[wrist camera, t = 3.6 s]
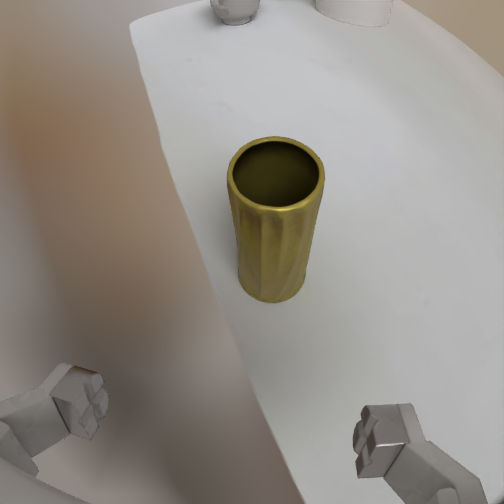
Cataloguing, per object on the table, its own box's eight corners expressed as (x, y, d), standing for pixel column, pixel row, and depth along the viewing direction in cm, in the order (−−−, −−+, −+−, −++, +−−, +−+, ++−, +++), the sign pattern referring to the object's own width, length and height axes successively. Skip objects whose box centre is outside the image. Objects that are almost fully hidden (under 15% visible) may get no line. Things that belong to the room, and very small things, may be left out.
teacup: (189, 35, 50) (181, -8, 41) (222, 9, 56) (218, -28, 47) (248, 40, 48) (245, -8, 39) (274, 13, 54) (274, -26, 45)
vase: (231, 296, 29) (204, 208, 16) (246, 236, 31) (233, 124, 18) (299, 309, 28) (329, 229, 15) (309, 247, 30) (336, 139, 18)
